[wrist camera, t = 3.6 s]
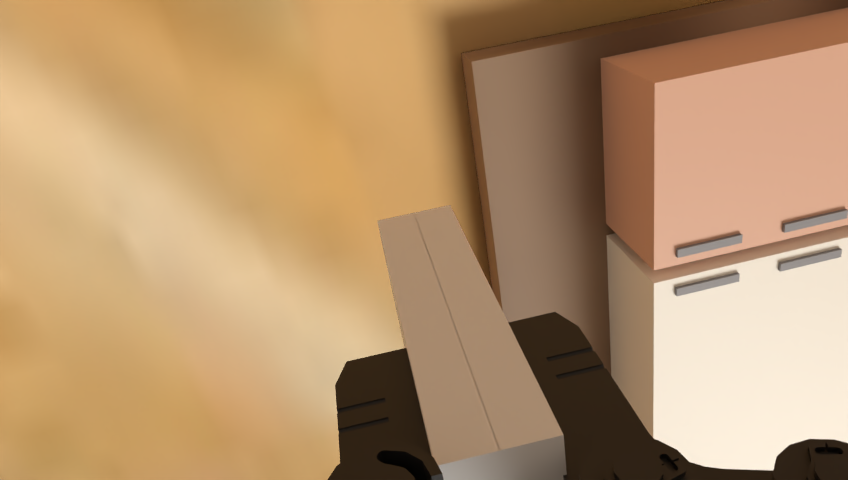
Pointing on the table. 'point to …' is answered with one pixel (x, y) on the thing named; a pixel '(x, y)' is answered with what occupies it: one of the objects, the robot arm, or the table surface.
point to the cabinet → (728, 139)
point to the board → (568, 154)
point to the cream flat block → (735, 347)
